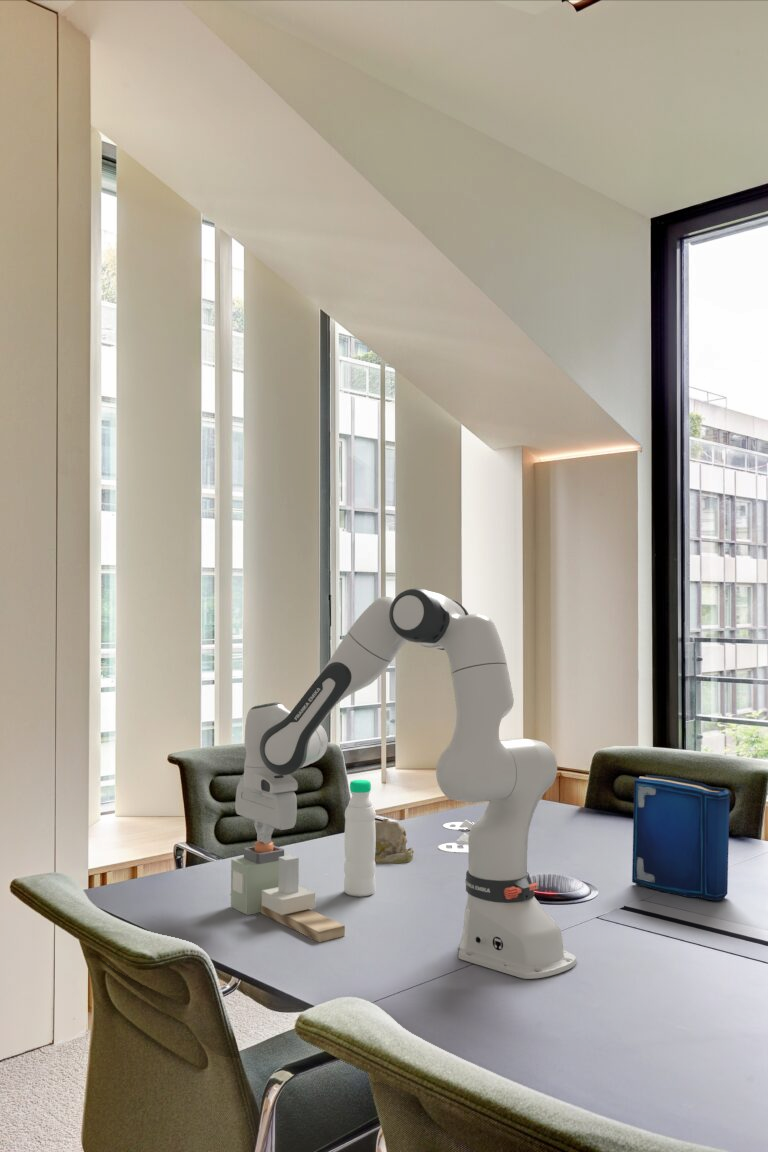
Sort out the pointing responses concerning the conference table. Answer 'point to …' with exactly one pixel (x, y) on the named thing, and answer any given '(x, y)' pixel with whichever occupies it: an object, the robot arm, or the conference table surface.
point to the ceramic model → (391, 843)
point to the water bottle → (360, 841)
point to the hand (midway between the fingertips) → (264, 842)
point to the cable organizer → (462, 838)
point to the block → (308, 923)
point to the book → (681, 837)
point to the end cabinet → (253, 878)
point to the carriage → (288, 890)
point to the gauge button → (263, 847)
